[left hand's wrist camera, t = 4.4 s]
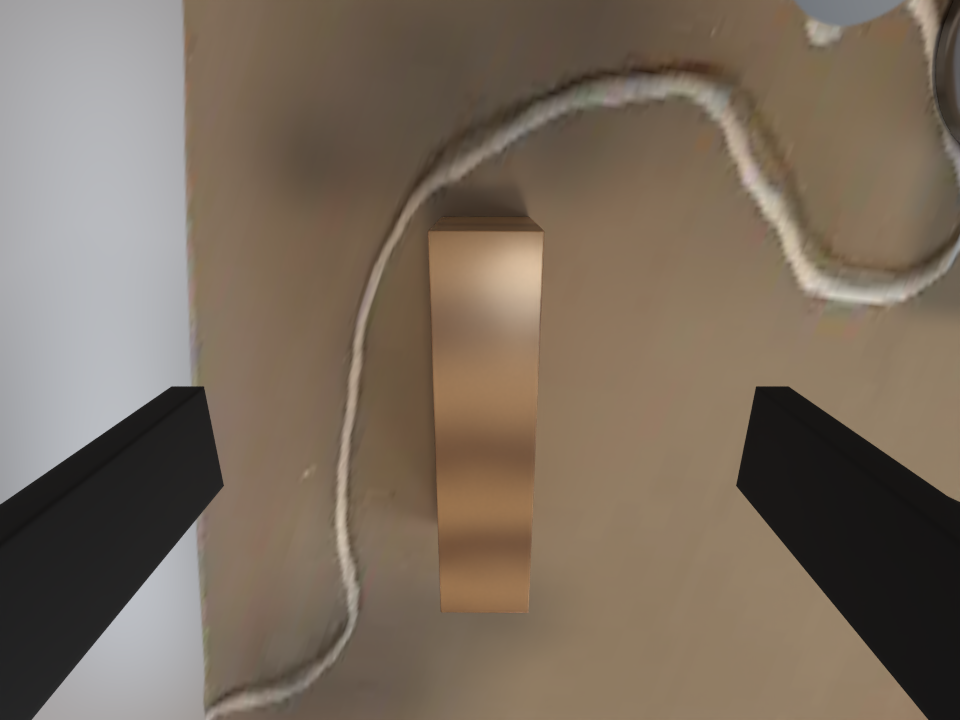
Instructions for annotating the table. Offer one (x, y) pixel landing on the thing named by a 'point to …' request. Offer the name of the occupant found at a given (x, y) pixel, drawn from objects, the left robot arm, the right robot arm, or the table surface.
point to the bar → (485, 406)
